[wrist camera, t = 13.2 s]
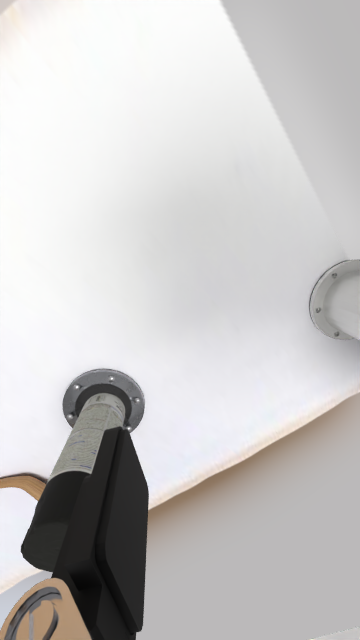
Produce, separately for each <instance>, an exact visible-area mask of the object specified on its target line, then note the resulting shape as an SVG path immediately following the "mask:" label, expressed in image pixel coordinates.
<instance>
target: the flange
mask: <svg viewBox="0 0 360 640" xmlns="http://www.w3.org/2000/svg"><path fill="white" fill-rule="evenodd" d="M97 393H109V394H113V395H116V396H117V397H119V398H120V399H121V400H122V402H123V404H124V406H125V418H124V422H123V427H122V428H123V430H124V429H128V431H129V433H131V432H132V431H133V430H134V429H135V428H136V427H137V426H138V425H139V423H140V421H141V419H142V417H143V413H144V396H143V393H142V391H141V389H140V387H139V386H138V385H137V383H136V382H135V381H134V380H133V379H131V378H130V377H129V376H127V375H125V374H123V373H121V372H118V371H115V370H110V369H97V370H92V371H89V372H86V373H84V374H82V375H80V376H79V377H78V378H76V379H75V380H74V381H73V382H72V383H71V385H70V386H69V388H68V389H67V391H66V393H65V395H64V399H63V412H64V415H65V418H66V420H67V422H68V423H69V425H70V426H71V427H72V428H73V427H74V425H75V423H76V421H77V419H78V417H79V415H80V413H81V411H82V409H83V407H84V405H85V403H86V402H87V400H88V399H89V398H91V397H92V396H94V395H96V394H97Z"/></svg>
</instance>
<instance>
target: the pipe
mask: <svg viewBox="0 0 360 640" xmlns="http://www.w3.org/2000/svg"><path fill="white" fill-rule="evenodd" d="M45 486H46V484H45V483H43V482H42V481H40V480H38V479H36V478H34V477H32V476H16V477H8V478H3V479H0V488H6V487H17V488H21V489H23V490H25V491H26V492H27V493H29V494H30V495H31V496H32V497H34V498H35V499H36V500H37V501H39V499H40V497H41V495H42V493H43V490H44V488H45Z"/></svg>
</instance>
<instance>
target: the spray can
mask: <svg viewBox="0 0 360 640" xmlns="http://www.w3.org/2000/svg"><path fill="white" fill-rule="evenodd" d="M124 418H125V406H124V404H123V402H122V400H121V399H120V398H119V397H117V396H116V395H113V394H109V393H97V394H96V395H94V396H92V397H91V398H89V399H88V400H87V402H86V403H85V405H84V407H83V409H82V411H81V413H80V415H79V417H78V419H77V421H76V423H75V425H74V427H73V429H72V432H71V434H70V436H69V438H68V440H67V442H66V444H65V446H64V448H63V450H62V452H61V454H60V457H59V459H58V461H57V463H56V465H55V467H54V469H53V471H52V473H51V475H50V477H49V480H48V482H47V484H46V486H45V488H44V490H43V493H42V495H41V497H40V499H39V501H38V503H37V506H36V509H35V514H34V517H33V520H32V523H31V525H30V528H29V529H28V531H27V534H26V536H25V539H24V541H23V544H22V545H21V553H22V554H23V558H24V559H26V560H27V561H28V562H29V563H30V564H31V565H33V566H34V567H36V568H38V569H41V570H46V571H49V572H53V571H54V568H55V565H56V562H57V559H58V555H59V552H60V549H61V546H62V543H63V540H64V537H65V534H66V531H67V528H68V525H69V522H70V519H71V515H72V512H73V509H74V506H75V503H76V500H77V497H78V494H79V491H80V488H81V485H82V482H83V480H84V478H85V477H86V476H89V475H91V473H92V470H93V467H94V463H95V460H96V456H97V453H98V450H99V446H100V443H101V440H102V436H103V433H104V431H105V430H106V429H110V428H115V427H119V426H121V427H123V422H124Z"/></svg>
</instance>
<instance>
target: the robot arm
mask: <svg viewBox="0 0 360 640" xmlns="http://www.w3.org/2000/svg"><path fill="white" fill-rule="evenodd" d="M310 313H311V317H312V320H313V322H314V324H315V325H316V327H317V328H318V329H319V330H320V331H321V332H322V333H324V334H326V335H327V336H329V337H332V338H334V339H340V340H347V339H353V338H356V339H358V340H360V260H350V261H345V262H342V263H340V264H338V265H336V266H334V267H333V268H331V269H330V270H329V271H327V272H326V273H325V274H324V275H323V276H322V278H321V279H320V280H319V281H318V283H317V285H316V286H315V288H314V291H313V293H312V296H311V302H310ZM148 499H149V493H148V486H147V482H146V479H145V477H144V474H143V471H142V468H141V465H140V462H139V459H138V456H137V454H136V451H135V448H134V445H133V442H132V439H131V436H130V433H129V431H128V429H124V430H123V428H122V427H121V426H119V427H115V428H110V429H106V430H105V431H104V433H103V436H102V440H101V443H100V446H99V450H98V453H97V456H96V460H95V463H94V467H93V470H92V473H91V475H89V476H86V477H85V478H84V480H83V482H82V485H81V488H80V491H79V494H78V497H77V500H76V503H75V506H74V509H73V512H72V515H71V519H70V522H69V525H68V528H67V531H66V534H65V537H64V540H63V543H62V546H61V549H60V552H59V555H58V559H57V562H56V565H55V568H54V571H53V574H52V577H51V579H46V580H44V581H42V582H40V583H38V584H36V585H35V586H33V587H32V588H31V589H30V590H28V591H27V592H26V593H25V594H24V595H23V596H22V597H21V598H20V600H19V601H18V602H17V603H16V604H15V605H14V607H13V608H12V610H11V612H10V613H9V615H8V616H7V618H6V619H5V622H4V624H3V626H2V628H1V630H0V640H136V632H139V631H141V630H142V626H143V611H144V590H145V567H146V543H147V521H148ZM310 640H360V627H356V628H352V629H348V630H344V631H340V632H336V633H333V634H329V635H325V636H321V637H317V638H313V639H310Z"/></svg>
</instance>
